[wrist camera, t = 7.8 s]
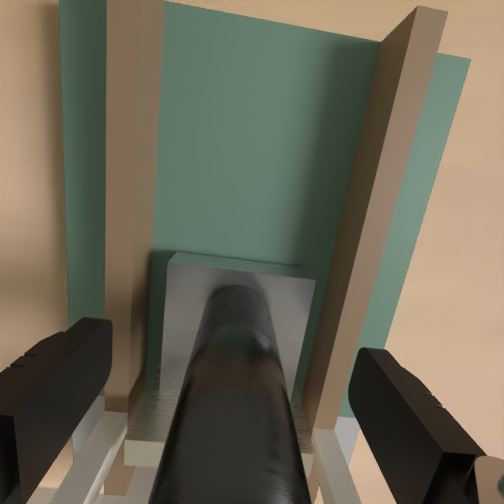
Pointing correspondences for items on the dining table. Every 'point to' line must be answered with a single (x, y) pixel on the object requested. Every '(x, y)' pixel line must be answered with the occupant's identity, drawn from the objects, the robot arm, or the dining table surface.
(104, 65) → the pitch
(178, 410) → the slider
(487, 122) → the dining table surface
